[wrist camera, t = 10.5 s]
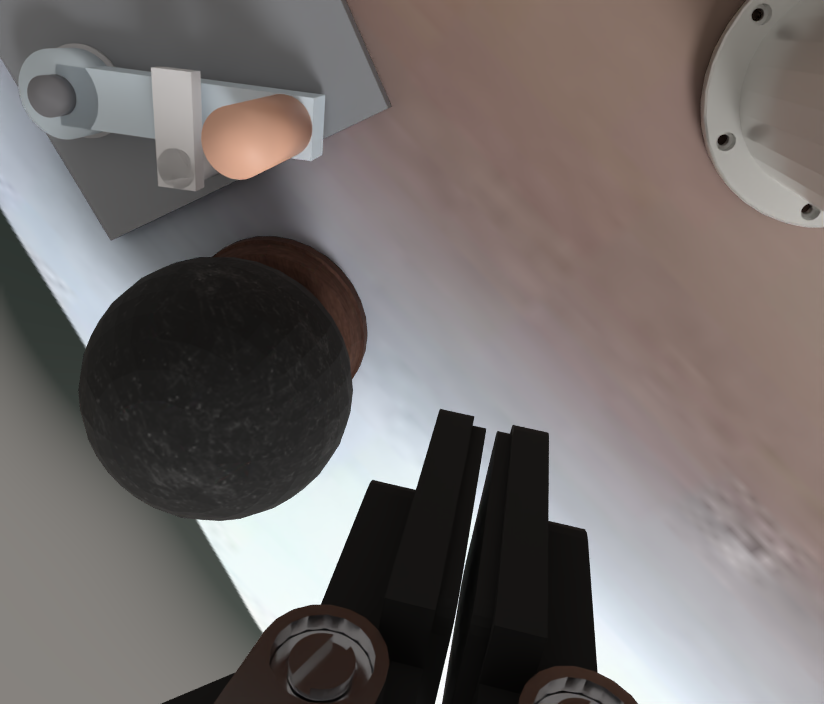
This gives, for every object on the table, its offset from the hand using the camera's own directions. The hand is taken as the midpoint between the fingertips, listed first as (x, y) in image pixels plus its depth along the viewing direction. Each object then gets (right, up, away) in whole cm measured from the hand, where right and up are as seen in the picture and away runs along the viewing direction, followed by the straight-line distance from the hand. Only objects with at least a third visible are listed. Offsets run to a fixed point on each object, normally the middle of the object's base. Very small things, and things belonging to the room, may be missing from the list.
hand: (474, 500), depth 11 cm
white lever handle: (-13, +15, +26) cm, 33 cm away
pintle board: (-13, +18, +26) cm, 35 cm away
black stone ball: (-9, +4, +32) cm, 34 cm away
